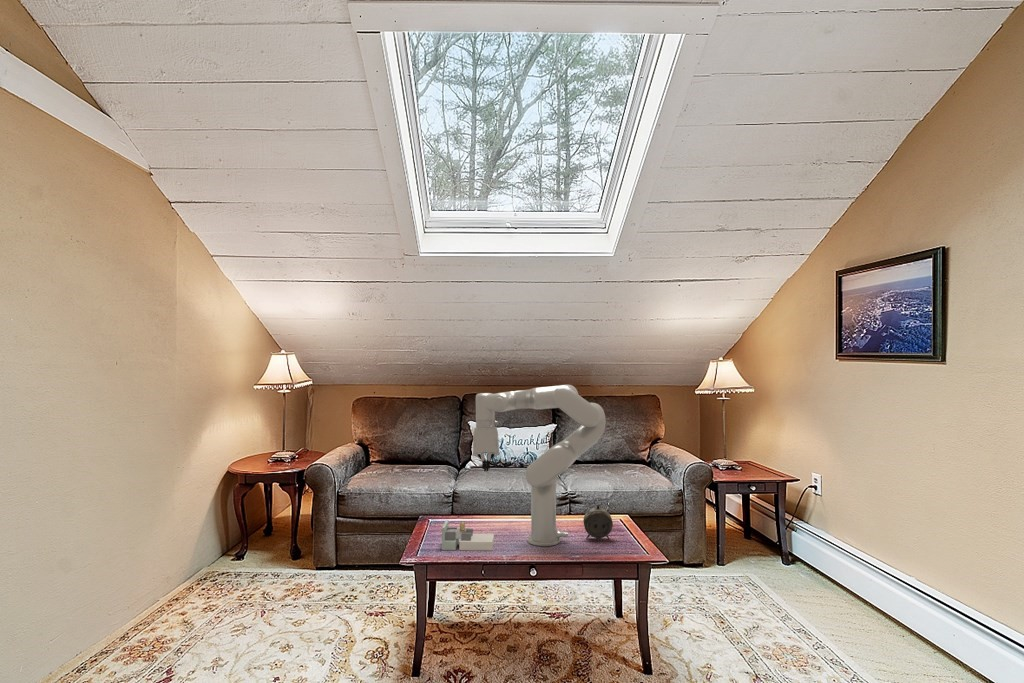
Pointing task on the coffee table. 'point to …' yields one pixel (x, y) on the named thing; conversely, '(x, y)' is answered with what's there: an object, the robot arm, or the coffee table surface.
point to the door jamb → (448, 537)
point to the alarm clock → (598, 522)
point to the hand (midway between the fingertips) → (486, 470)
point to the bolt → (459, 530)
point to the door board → (476, 541)
